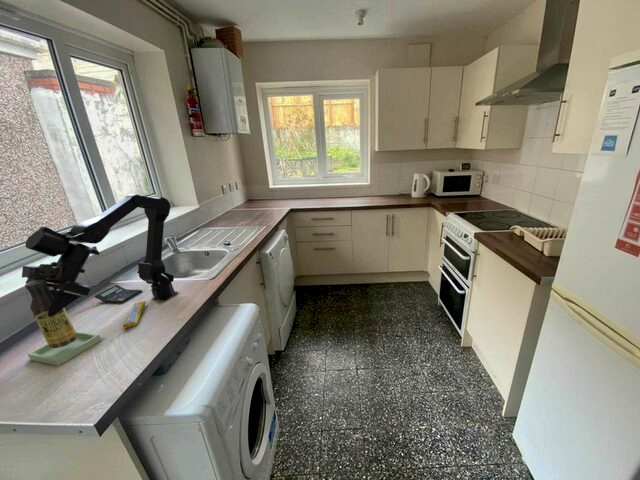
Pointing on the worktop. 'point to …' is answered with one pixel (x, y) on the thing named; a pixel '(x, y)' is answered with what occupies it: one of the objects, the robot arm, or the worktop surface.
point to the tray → (64, 349)
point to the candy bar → (134, 314)
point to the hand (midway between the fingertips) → (42, 314)
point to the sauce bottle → (53, 328)
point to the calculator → (117, 294)
